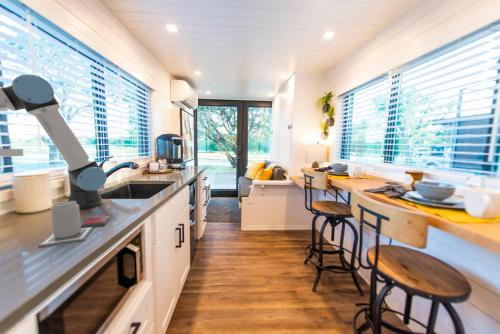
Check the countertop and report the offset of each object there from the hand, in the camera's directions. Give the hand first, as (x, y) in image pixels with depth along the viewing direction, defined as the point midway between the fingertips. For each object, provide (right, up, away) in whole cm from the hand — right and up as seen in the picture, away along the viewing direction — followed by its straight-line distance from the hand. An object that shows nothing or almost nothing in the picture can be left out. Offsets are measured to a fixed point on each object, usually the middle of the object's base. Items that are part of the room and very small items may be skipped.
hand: (11, 153), depth 77 cm
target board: (+20, -30, 0) cm, 36 cm away
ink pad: (+21, -29, +13) cm, 38 cm away
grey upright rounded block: (+20, -30, 0) cm, 36 cm away
